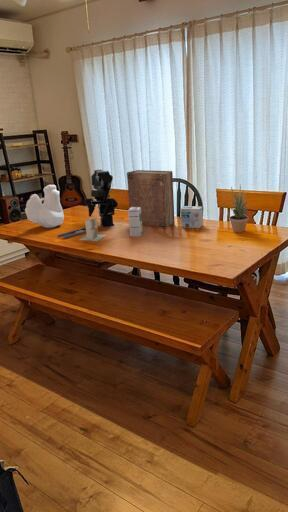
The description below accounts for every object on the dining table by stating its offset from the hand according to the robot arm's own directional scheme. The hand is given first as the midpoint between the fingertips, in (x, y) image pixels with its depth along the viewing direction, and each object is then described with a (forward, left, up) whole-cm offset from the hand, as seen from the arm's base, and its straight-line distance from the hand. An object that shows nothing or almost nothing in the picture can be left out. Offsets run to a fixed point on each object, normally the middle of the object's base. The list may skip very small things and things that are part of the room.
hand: (96, 216), depth 220 cm
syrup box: (-15, +16, -10) cm, 24 cm away
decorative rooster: (+20, -36, -10) cm, 43 cm away
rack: (+11, -8, -10) cm, 16 cm away
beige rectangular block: (+5, +5, -9) cm, 12 cm away
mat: (+6, +6, -10) cm, 13 cm away
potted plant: (-60, +45, -10) cm, 76 cm away
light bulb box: (-47, +21, -10) cm, 53 cm away
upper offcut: (+8, -8, -10) cm, 15 cm away
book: (-33, +1, -10) cm, 35 cm away
